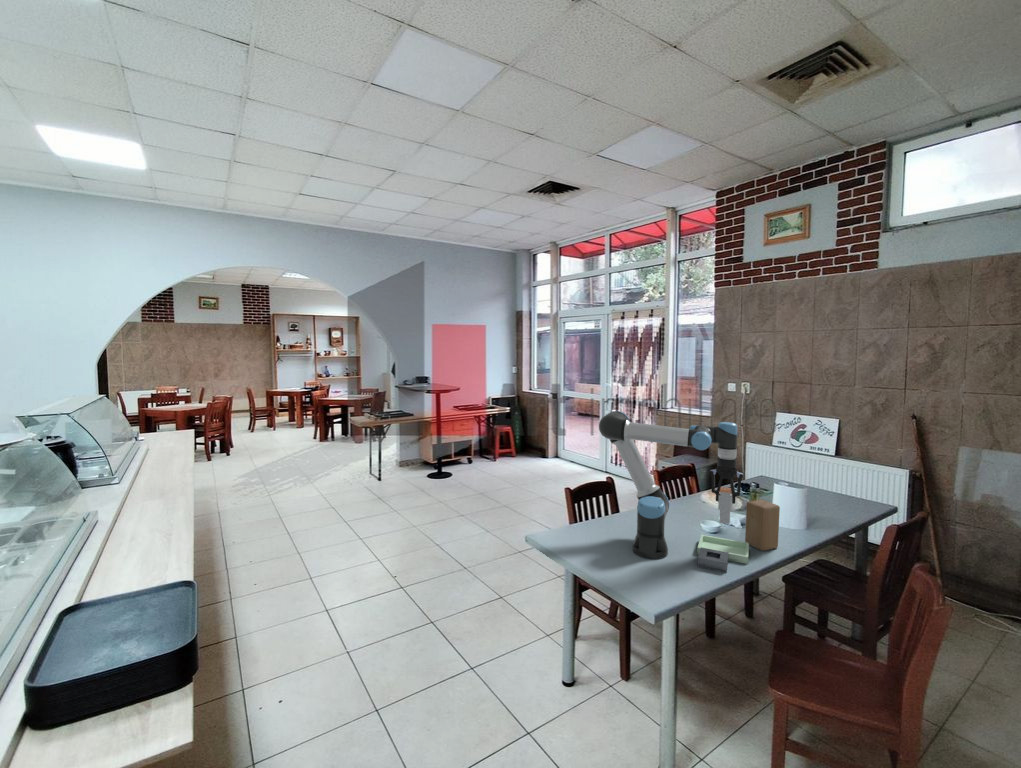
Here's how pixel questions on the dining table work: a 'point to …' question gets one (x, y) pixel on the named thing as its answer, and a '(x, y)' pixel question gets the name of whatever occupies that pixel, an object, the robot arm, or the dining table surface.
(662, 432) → the robot arm
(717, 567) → the block
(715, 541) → the tray
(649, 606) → the dining table surface
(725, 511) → the pin
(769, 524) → the wooden block
